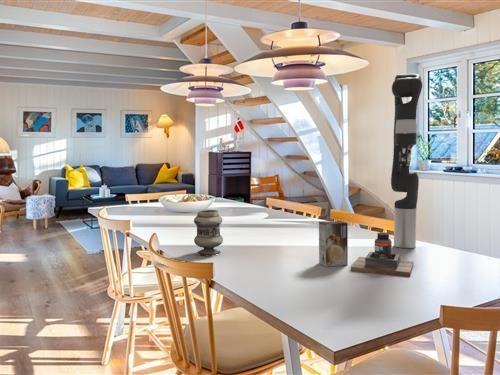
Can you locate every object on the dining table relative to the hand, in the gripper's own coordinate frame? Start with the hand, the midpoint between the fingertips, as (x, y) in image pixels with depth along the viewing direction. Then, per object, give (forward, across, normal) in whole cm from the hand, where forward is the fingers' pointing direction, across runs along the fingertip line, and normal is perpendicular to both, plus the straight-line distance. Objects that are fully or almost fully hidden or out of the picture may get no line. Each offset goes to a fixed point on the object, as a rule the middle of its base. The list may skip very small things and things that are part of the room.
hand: (405, 175), depth 172 cm
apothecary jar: (+33, +15, -76) cm, 84 cm away
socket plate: (+33, +12, -6) cm, 36 cm away
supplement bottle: (+32, +12, -6) cm, 35 cm away
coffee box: (+33, +13, -24) cm, 43 cm away
